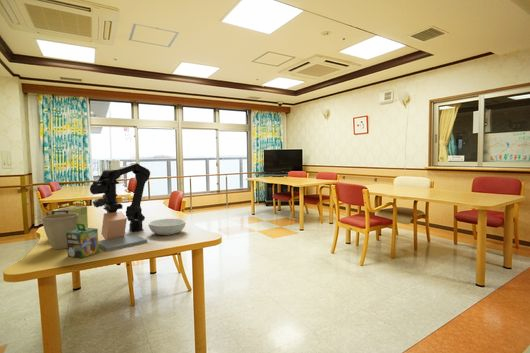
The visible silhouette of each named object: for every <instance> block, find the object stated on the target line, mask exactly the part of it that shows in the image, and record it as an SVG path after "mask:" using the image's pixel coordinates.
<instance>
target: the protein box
mask: <svg viewBox="0 0 530 353" xmlns="http://www.w3.org/2000/svg"><path fill="white" fill-rule="evenodd" d="M65 213H76V214H78V220H77V223H79V224H84V226H85V228H89V223H88V222H89V220H88V206H83V205H79V206H78V205H77V206H76V205H74V206H73V205H71V206H67V207H61V208H57V209H53V210H51V215H54V214H65ZM79 227H80V228H83V227H82V226H79ZM76 229H78V228H77V226H76Z"/></svg>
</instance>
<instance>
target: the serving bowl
mask: <svg viewBox="0 0 530 353" xmlns="http://www.w3.org/2000/svg"><path fill="white" fill-rule="evenodd" d="M148 227H149V230H150V231H151V232H152V233H154V234H157V235H161V236H171V235H175V234H177V233H179V232H181V231H183V230H184V228H185V227H186V220H185V219H182V218H180V219H179V218H162V219H161V218H160V219H157V220H156V219H155V220H153V221H150V222H148ZM170 234H171V235H170Z"/></svg>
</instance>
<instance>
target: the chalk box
mask: <svg viewBox="0 0 530 353" xmlns="http://www.w3.org/2000/svg"><path fill="white" fill-rule="evenodd" d="M76 225H77V228H78V229H76V230H73V231H69V232H67V233H66V235H67V248H66V250H67V257H72V258H77V259H84V258H86V257H89V256H93V255H94V254H97V253H100V247H99V244H98V241H99V233H98V232H99V231H98V230H99V229H98V228H96V227H95V228H94V227H93V228H92V227H88V228H85V226H84V224H79V223H76ZM79 226H82V227H83V228H80V227H79Z"/></svg>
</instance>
